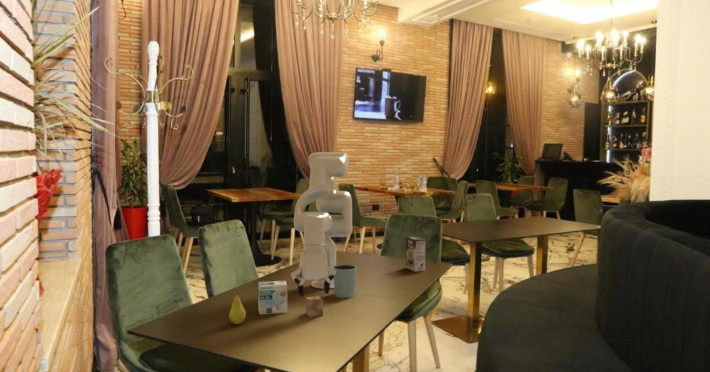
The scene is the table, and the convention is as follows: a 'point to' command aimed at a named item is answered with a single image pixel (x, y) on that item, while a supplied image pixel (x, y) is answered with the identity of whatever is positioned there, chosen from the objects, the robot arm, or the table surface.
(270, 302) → the light bulb box
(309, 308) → the walnut block
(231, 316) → the fruit
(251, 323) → the table surface
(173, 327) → the table surface
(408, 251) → the coffee box
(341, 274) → the blue cup
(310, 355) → the table surface
